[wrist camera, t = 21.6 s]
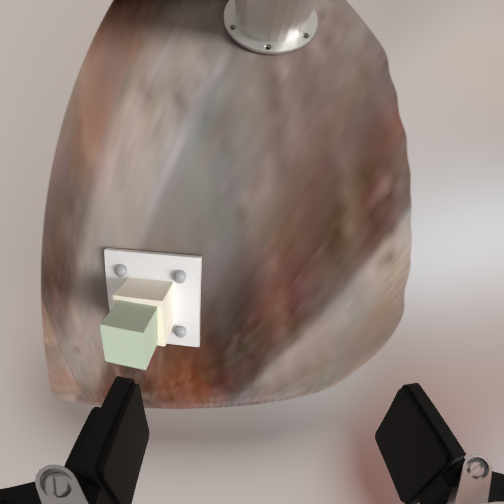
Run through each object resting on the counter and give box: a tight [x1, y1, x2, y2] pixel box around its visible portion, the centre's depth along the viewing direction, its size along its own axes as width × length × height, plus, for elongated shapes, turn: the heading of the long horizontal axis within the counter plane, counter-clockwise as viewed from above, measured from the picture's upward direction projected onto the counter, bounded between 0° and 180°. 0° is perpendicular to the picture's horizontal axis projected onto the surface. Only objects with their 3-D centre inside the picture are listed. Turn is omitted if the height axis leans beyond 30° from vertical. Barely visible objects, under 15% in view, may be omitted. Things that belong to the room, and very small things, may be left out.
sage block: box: [100, 300, 158, 370], centre depth 31 cm, size 5×5×6 cm
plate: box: [104, 248, 202, 347], centre depth 39 cm, size 14×14×2 cm
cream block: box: [113, 278, 174, 346], centre depth 36 cm, size 6×6×6 cm
